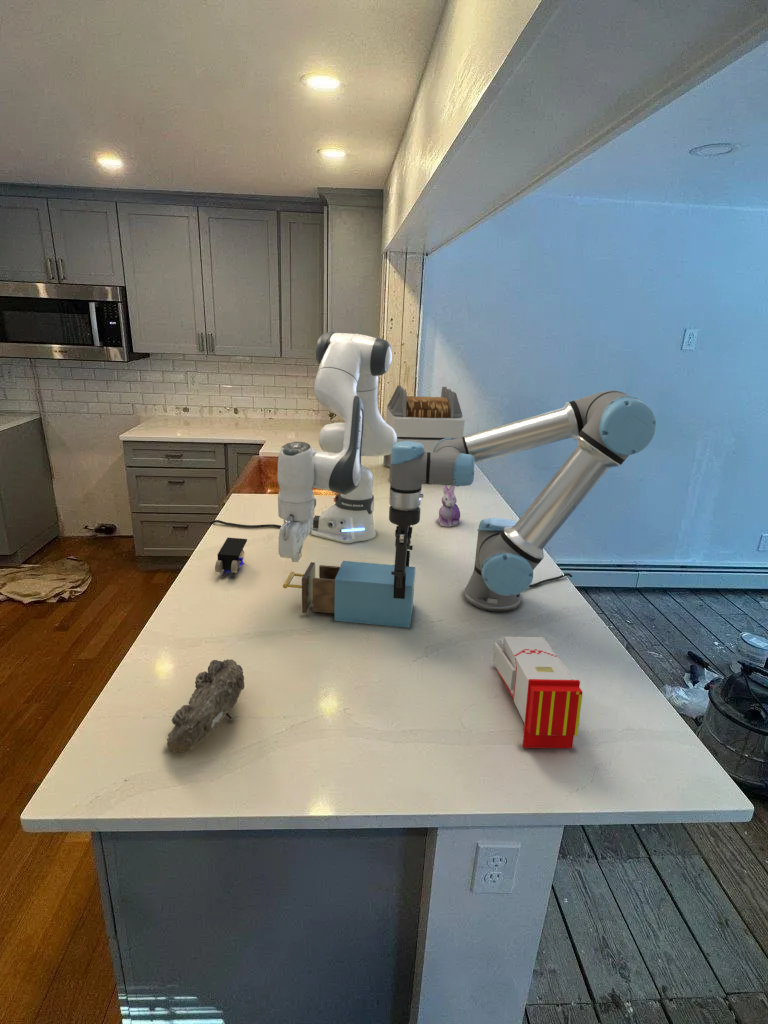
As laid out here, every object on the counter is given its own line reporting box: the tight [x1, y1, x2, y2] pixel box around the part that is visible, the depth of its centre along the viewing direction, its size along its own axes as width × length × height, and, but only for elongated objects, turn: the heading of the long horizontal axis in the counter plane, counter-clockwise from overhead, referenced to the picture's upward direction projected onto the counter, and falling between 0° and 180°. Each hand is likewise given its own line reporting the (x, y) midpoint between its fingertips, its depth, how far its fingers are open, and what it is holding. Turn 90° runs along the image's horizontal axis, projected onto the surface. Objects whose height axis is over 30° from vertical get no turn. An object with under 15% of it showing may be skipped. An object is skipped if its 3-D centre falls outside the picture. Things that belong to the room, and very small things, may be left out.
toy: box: [491, 636, 583, 749], centre depth 115 cm, size 12×13×30 cm
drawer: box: [282, 561, 340, 614], centre depth 146 cm, size 23×10×10 cm, turn 84°
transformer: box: [383, 384, 465, 479], centre depth 268 cm, size 34×33×41 cm
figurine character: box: [214, 537, 248, 578], centre depth 166 cm, size 7×8×15 cm
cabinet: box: [333, 560, 416, 629], centre depth 145 cm, size 19×11×12 cm, turn 84°
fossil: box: [166, 658, 245, 754], centre depth 106 cm, size 22×10×15 cm
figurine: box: [437, 485, 461, 528], centre depth 209 cm, size 9×10×15 cm
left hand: (296, 559), depth 145 cm, fingers closed
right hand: (401, 585), depth 144 cm, fingers open, 13 cm apart
